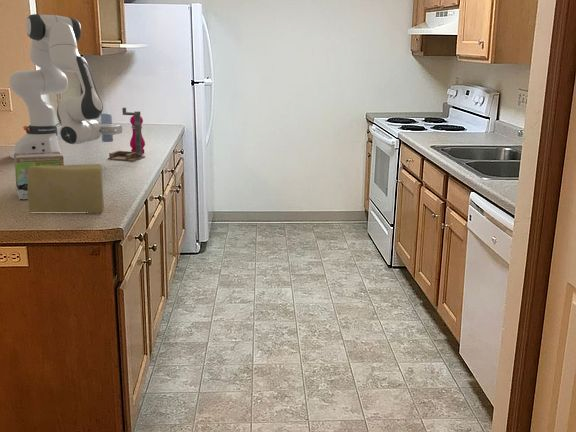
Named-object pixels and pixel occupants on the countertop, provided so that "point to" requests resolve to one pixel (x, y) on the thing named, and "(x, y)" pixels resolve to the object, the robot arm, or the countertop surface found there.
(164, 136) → the countertop surface
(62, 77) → the robot arm
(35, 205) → the olive green box
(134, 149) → the pepper mill
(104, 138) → the grey tapered cup
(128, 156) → the hanger stand
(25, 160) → the tea box
